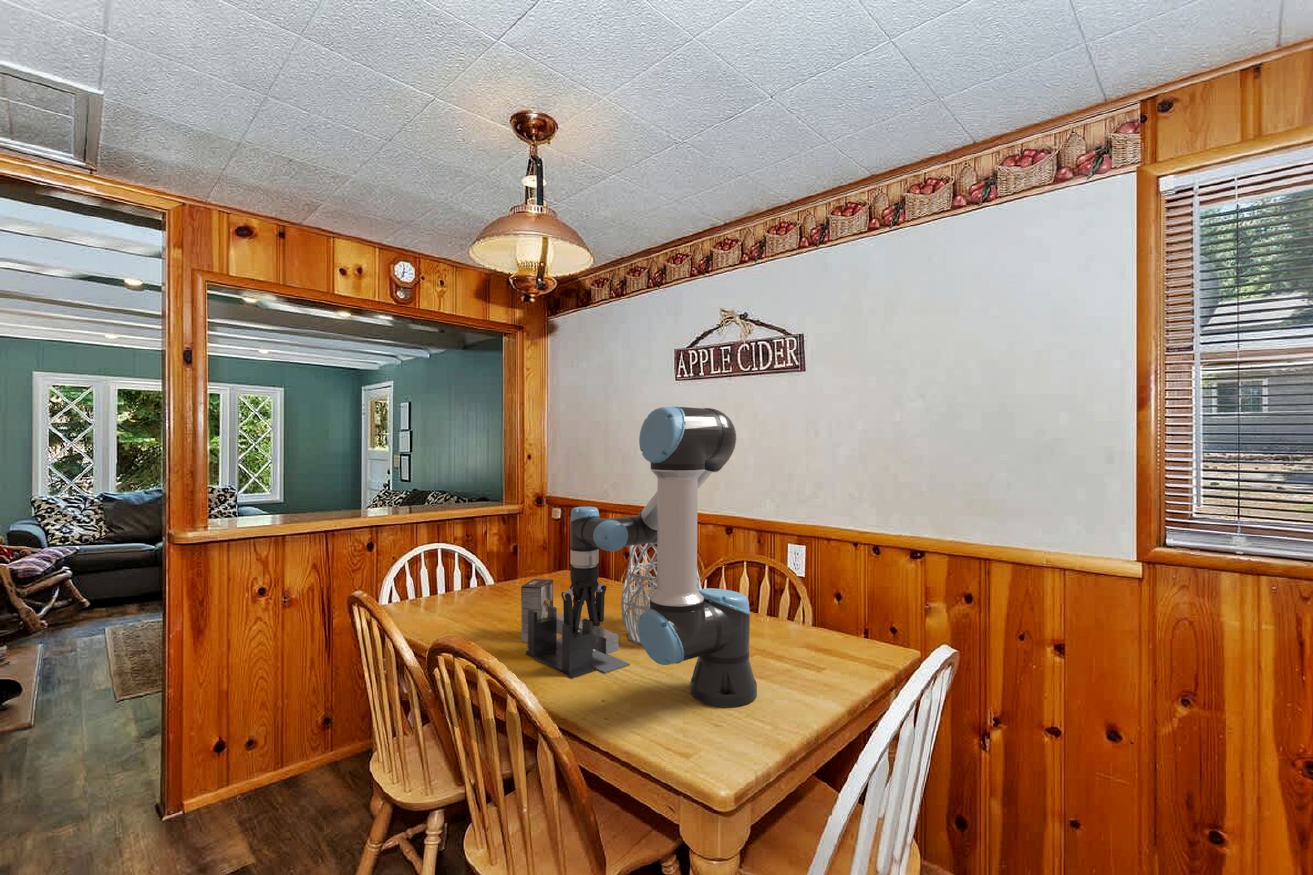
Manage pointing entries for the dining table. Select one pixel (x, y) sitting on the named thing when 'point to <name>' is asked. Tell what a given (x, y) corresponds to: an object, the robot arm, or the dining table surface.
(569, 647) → the rack
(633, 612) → the vase
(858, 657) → the dining table surface
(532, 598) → the coffee box
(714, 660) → the robot arm
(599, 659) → the mat
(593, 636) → the rail
